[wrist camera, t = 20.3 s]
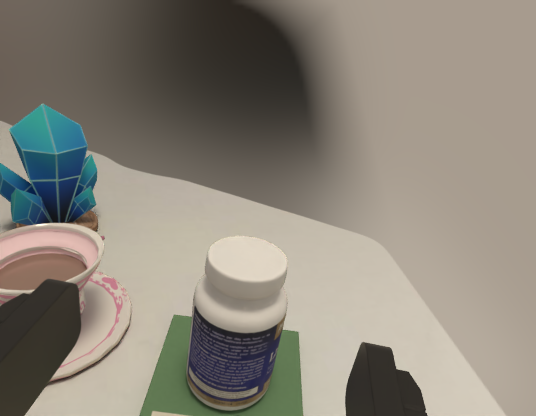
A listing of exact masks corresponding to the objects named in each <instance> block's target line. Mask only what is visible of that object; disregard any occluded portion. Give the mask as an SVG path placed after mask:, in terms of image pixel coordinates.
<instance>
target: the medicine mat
mask: <svg viewBox="0 0 536 416" xmlns="http://www.w3.org/2000/svg"><path fill="white" fill-rule="evenodd" d="M191 321H192V317H188V316H181V315H174V316H173V319H172V322H171V325H170V328H169V331H168V334H167V336H166V339H165V342H164V345H163V348H162V351H161V354H160V357H159V360H158V363H157V366H156V369H155V372H154V375H153V378H152V380H151V383H150V386H149V389H148V392H147V395H146V398H145V401H144V404H143V407H142V410H141V413H140V416H303V407H302V389H301V371H300V352H299V334H298V332H295V331H288V330H282V333H281V338H280V342H279V346H278V350H277V355H276V359H275V364H274V368H273V372H272V376H271V380H270V383H269V386H268V389H267V391H266V392H265V394H264V395H263V396H262V398H261V399H259V400H258V401H257V402H256V403H254V404H253V405H251V406H249V407H247V408H243V409H239V410H232V411H229V410H220V409H216V408H213V407H210V406H208V405H206V404H205V403H203V402H202V401H200V400H199V399H198V398H197V397H196V396H195V395H194V393H193V392H192V390H191V389H190V387H189V384H188V381H187V374H186V371H187V358H188V349H189V340H190V330H191Z"/></svg>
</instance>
